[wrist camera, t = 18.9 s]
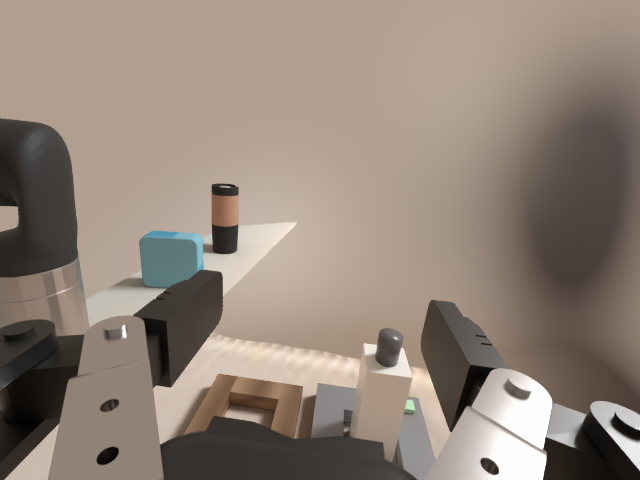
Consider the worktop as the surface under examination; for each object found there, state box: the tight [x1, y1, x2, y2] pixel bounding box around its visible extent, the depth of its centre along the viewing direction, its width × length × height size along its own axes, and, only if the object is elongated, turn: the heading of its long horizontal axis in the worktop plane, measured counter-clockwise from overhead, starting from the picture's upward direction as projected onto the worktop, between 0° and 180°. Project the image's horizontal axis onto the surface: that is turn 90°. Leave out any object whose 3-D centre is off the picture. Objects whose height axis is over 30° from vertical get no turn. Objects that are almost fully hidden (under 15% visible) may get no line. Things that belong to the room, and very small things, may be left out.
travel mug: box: [212, 184, 238, 254], centre depth 90 cm, size 8×8×20 cm
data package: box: [139, 231, 203, 288], centre depth 68 cm, size 12×4×12 cm, turn 95°
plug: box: [349, 328, 412, 462], centre depth 33 cm, size 4×4×16 cm
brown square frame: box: [183, 374, 303, 439], centre depth 36 cm, size 12×12×2 cm
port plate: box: [311, 383, 435, 480], centre depth 35 cm, size 14×14×3 cm
